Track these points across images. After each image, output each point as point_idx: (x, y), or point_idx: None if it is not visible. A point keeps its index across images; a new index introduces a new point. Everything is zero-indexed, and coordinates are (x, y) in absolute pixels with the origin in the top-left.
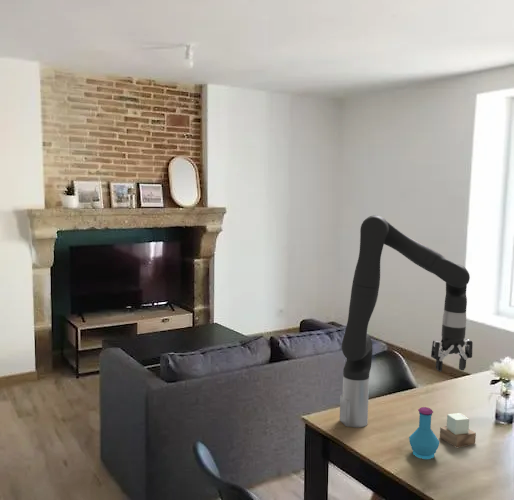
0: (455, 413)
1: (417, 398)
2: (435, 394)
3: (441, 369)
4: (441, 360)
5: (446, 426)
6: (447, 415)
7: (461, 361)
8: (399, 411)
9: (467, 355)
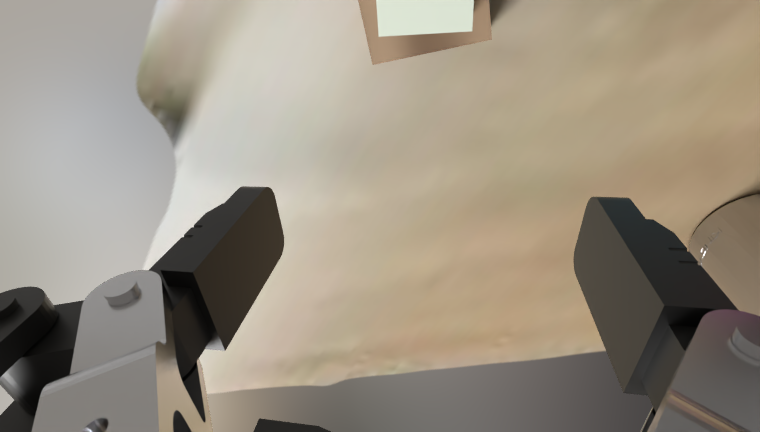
0: (412, 33)
1: (371, 334)
2: (300, 342)
3: (615, 209)
4: (726, 320)
5: (453, 42)
6: (471, 27)
7: (226, 286)
8: (493, 275)
9: (54, 345)
